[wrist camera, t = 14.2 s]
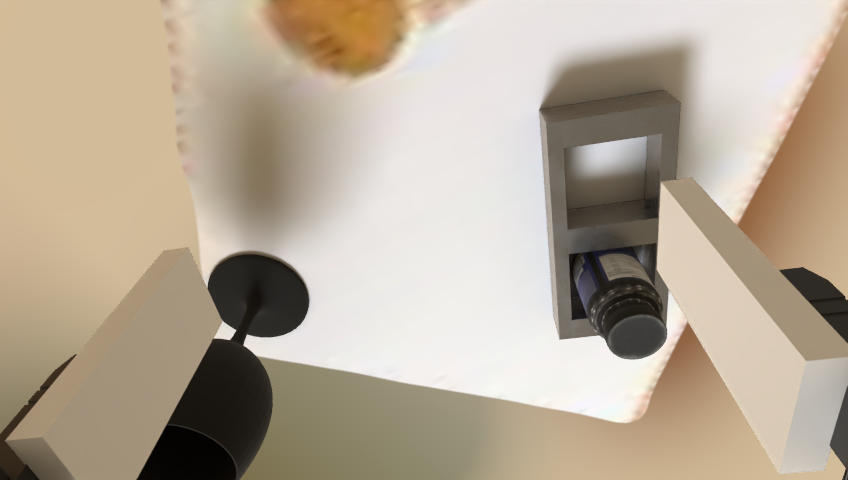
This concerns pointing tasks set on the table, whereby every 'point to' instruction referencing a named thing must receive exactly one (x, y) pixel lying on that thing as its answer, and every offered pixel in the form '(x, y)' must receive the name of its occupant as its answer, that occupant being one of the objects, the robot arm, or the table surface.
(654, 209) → the rectangular frame
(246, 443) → the wine glass
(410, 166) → the table surface
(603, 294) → the pill bottle
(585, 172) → the table surface
